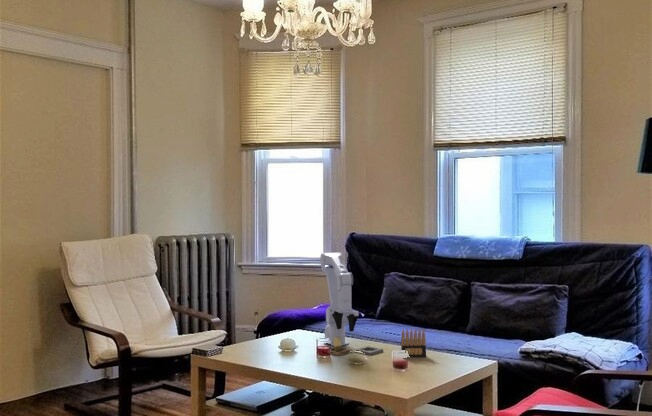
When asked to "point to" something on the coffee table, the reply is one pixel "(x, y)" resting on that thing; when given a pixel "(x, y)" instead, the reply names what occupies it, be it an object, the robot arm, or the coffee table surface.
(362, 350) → the socket block
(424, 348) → the ammunition clip
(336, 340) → the brass peg
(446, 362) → the coffee table surface
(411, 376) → the coffee table surface
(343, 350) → the rack block
